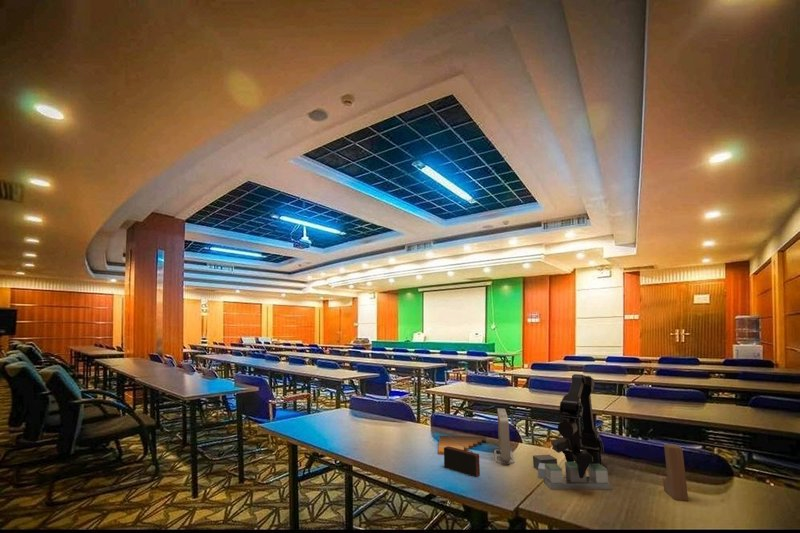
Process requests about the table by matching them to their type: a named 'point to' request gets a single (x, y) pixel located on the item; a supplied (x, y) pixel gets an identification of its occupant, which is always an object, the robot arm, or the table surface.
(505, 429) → the network device
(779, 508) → the table surface
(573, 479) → the block
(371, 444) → the table surface
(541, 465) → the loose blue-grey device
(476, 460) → the radio
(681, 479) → the wooden block
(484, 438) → the pan flute
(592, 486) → the rail
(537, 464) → the loose grey block
